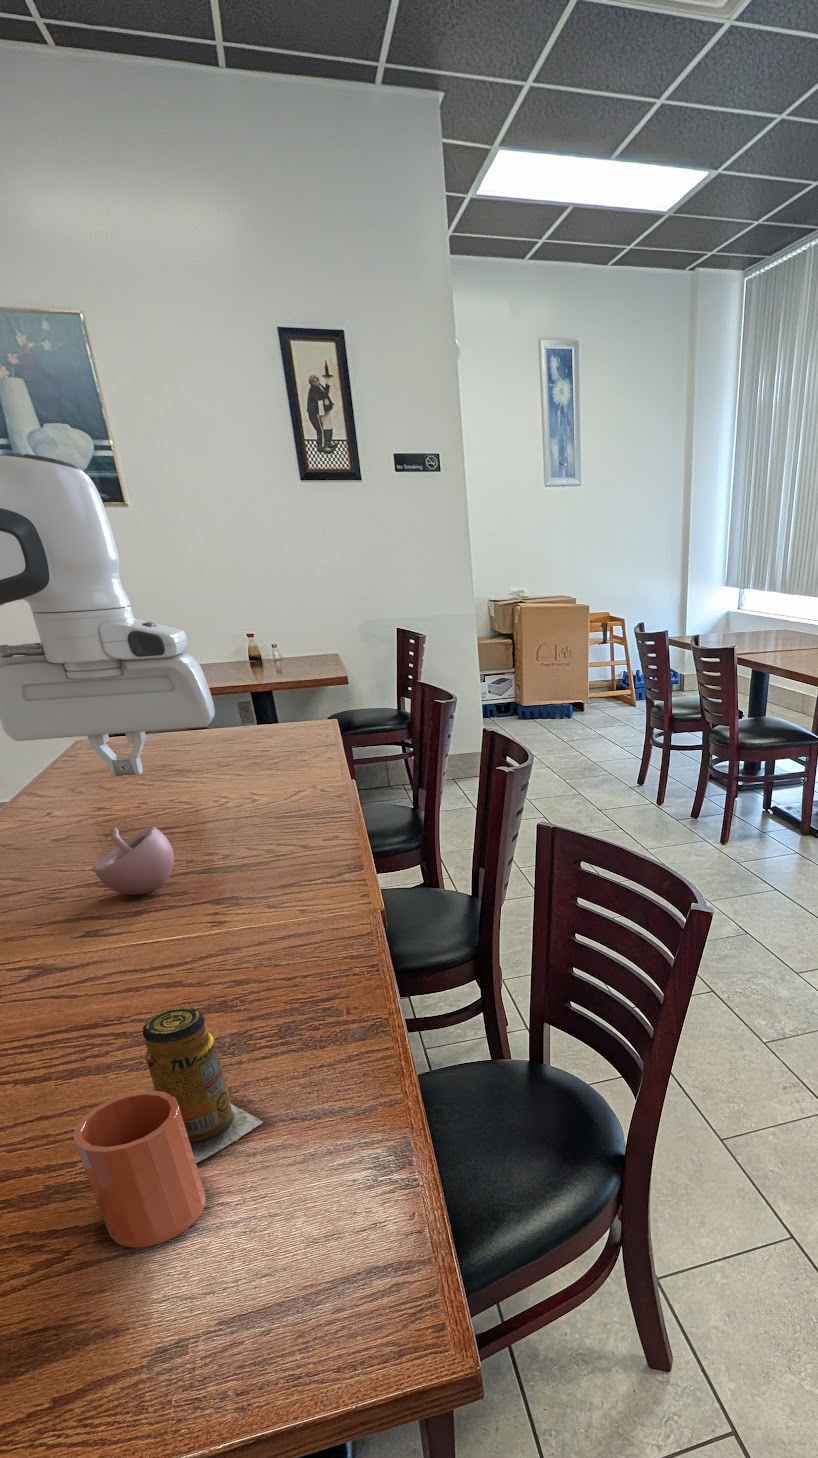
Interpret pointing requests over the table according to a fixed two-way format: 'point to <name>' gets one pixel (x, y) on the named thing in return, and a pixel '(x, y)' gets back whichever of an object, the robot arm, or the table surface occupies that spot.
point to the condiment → (194, 1079)
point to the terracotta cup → (141, 1167)
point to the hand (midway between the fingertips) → (127, 774)
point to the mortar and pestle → (136, 862)
